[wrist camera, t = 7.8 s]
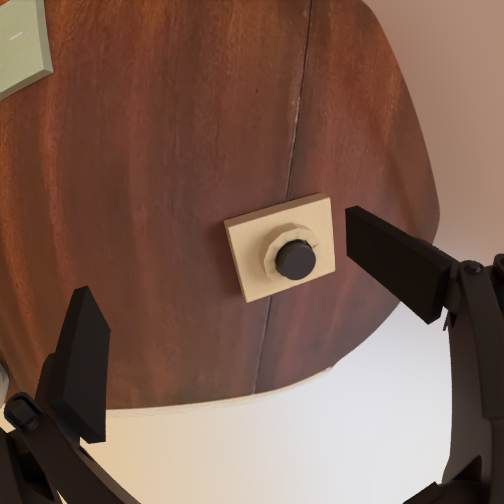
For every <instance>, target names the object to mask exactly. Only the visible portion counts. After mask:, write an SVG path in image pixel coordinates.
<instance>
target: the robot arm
mask: <svg viewBox="0 0 504 504" xmlns="http://www.w3.org/2000/svg"><path fill="white" fill-rule="evenodd" d="M345 215H346V245H347V256H348V257H349V258H351V259H352V260H353V261H354V262H356V263H357V264H358V265H359V266H360V267H362V268H363V269H364V270H365V271H366V272H368V273H369V274H370V275H371V276H372V277H374V278H375V279H376V280H377V281H378V282H380V283H381V284H382V285H383V286H384V287H385V288H387V289H388V290H389V291H390V292H391V293H392V294H394V295H395V296H396V297H397V298H398V299H399V300H401V301H402V302H403V303H404V304H405V305H406V306H407V307H409V308H410V309H411V310H412V311H413V312H414V313H415V314H416V315H418V316H419V317H420V318H421V319H422V320H424V322H425V323H426V324H430V323H432V322H434V321H435V320H437V319H438V318H440V316H441V312H442V308H443V306H444V307H445V308H446V309H448V313H447V317H446V320H445V323H444V327H443V331H445V330H446V327H447V326H448V332H449V343H450V357H451V374H452V375H451V376H452V429H451V430H452V431H451V447H450V456H449V460H448V463H447V465H446V467H445V470H444V473H443V478H442V483H441V484H439V485H437V483H436V482H433V483H432V484H430V485H429V486H428V487H426V488H425V489H423V490H422V491H420V492H419V493H418V494H416V495H415V496H413V497H411V498H410V499H408V500H406V501H405V502H404V503H403V504H504V254H497V255H496V256H495V258H494V262H493V265H491V266H486V267H484V266H483V265H482V264H480V263H478V262H476V261H471V260H467V261H463V262H461V263H460V262H459V261H457V260H456V259H454V258H452V257H451V256H449V255H448V254H446V253H445V252H443V251H441V250H439V249H438V248H437V247H435V246H433V245H432V244H430V243H428V242H427V241H425V240H422V239H419V238H416V237H412V236H410V235H408V234H407V233H405V232H403V231H402V230H400V229H398V228H396V227H395V226H393V225H391V224H389V223H388V222H386V221H384V220H382V219H381V218H379V217H377V216H375V215H374V214H372V213H370V212H368V211H366V210H365V209H363V208H361V207H359V206H354V207H350V208H346V209H345ZM110 331H111V329H110V328H109V326H108V324H107V322H106V320H105V319H104V317H103V315H102V313H101V311H100V309H99V307H98V305H97V303H96V301H95V299H94V297H93V295H92V293H91V291H90V289H89V287H88V286H84V287H81V288H78V289H75V290H74V292H73V295H72V298H71V301H70V304H69V307H68V310H67V313H66V316H65V319H64V323H63V326H62V330H61V333H60V337H59V340H58V344H57V348H56V351H55V353H51V354H49V355H48V357H47V359H46V360H45V362H44V363H43V367H42V371H41V375H40V379H39V383H38V387H37V391H36V396H35V400H33V399H32V398H31V397H30V396H29V395H28V394H27V393H24V392H20V393H16V394H15V395H13V396H12V397H11V398H10V399H9V400H8V401H7V403H6V405H5V408H4V417H5V419H6V420H7V421H8V422H9V423H11V425H12V426H13V427H15V428H16V429H15V430H13V431H11V432H9V433H6V432H5V431H4V430H3V429H2V428H1V427H0V504H63V503H62V501H61V498H60V496H59V494H58V492H59V493H60V495H61V496H62V497H63V499H64V500H65V501H66V502H67V504H141V503H139V502H138V501H137V500H136V499H135V498H134V497H132V496H131V495H130V494H129V493H128V492H127V491H126V490H124V489H123V488H122V487H121V486H120V485H119V484H118V483H117V482H116V481H115V480H114V479H113V478H112V477H111V476H110V475H109V474H108V473H107V472H105V470H104V469H103V468H102V467H101V466H100V465H99V464H98V463H97V462H96V461H95V460H94V459H93V458H92V457H91V456H90V455H89V454H88V452H87V451H86V450H85V449H84V448H83V447H81V446H80V437H81V438H83V439H84V440H85V441H86V442H87V443H88V444H91V443H99V442H105V441H106V434H105V433H106V429H105V428H106V424H105V421H106V384H107V367H108V353H109V341H110ZM57 491H58V492H57Z"/></svg>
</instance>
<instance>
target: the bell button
mask: <svg viewBox="0 0 504 504" xmlns="http://www.w3.org/2000/svg"><path fill="white" fill-rule="evenodd" d="M276 264H277V266H278V268H279V269H280V271H281V272H282V273H283V275H284V276H285V277H286V278H288V279H290V280H301V279H303V278H305V277H307V276H308V275H309V274H310V273H311V272H312V271H313V269H314V267H315V264H316V256H315V253H314V252H313V250H312V249H310V248H309V247H308V246H307V245H306V244H305V243H304V242H302V241H298V240H295V241H290V242H288V243H286V244H285V245H283V246H282V247H281V249H280V250H279V252H278V254H277V257H276Z"/></svg>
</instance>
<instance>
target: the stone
mask: <svg viewBox="0 0 504 504" xmlns="http://www.w3.org/2000/svg"><path fill="white" fill-rule="evenodd" d="M8 385H9V379H8V376H7V373H6V370H5V369H4V367H3V366H2V364H1V363H0V408H1V407H2V405H3V403H4V400H5V397H6V394H7V390H8Z"/></svg>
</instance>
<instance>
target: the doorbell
mask: <svg viewBox="0 0 504 504" xmlns="http://www.w3.org/2000/svg"><path fill="white" fill-rule="evenodd" d="M224 225H225V229H226V233H227V237H228V241H229V245H230V249H231V253H232V257H233V261H234V265H235V268H236V272H237V276H238V280H239V284H240V288H241V291H242V294H243V296H244V298H245V300H246V302H247V303H248V302H251V301H254V300H256V299H259V298H262V297H265V296H268V295H271V294H273V293H276V292H279V291H282V290H285V289H287V288H290V287H293V286H296V285H298V284H301V283H304V282H307V281H309V280H312V279H315V278H317V277H320V276H323V275H325V274H328V273H331V272H333V271H335V259H334V243H333V230H332V217H331V206H330V198H329V197H328V196H326V195H324V194H322V193H317V194H314V195H310V196H307V197H303V198H299V199H296V200H292V201H289V202H285V203H282V204H278V205H275V206H271V207H268V208H265V209H261V210H258V211H254V212H251V213H248V214H244V215H241V216H238V217H234V218H231V219H228V220H224ZM295 240H298V241H302V242H304V243H305V244H306V245H307V246H308V247H309V248H310V249H312V250H313V252H314V253H315V256H316V264H315V267H314V269H313V271H312V272H311V273H310V274H309V275H308V276H307V277H305V278H303V279H301V280H290V279H288V278H286V277H285V276H284V275H283V273H282V272H281V271H280V269H279V268H278V266H277V264H276V257H277V254H278V252H279V250H280V249H281V247H282V246H283V245H285V244H286V243H288V242H290V241H295Z"/></svg>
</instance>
